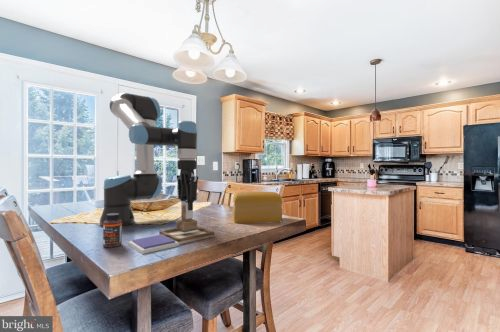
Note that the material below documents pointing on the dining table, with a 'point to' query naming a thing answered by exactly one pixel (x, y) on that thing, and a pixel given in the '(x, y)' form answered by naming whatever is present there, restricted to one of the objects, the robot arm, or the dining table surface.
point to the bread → (257, 207)
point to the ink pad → (152, 243)
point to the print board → (187, 234)
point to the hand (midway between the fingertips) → (186, 217)
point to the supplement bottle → (112, 231)
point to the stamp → (186, 222)
